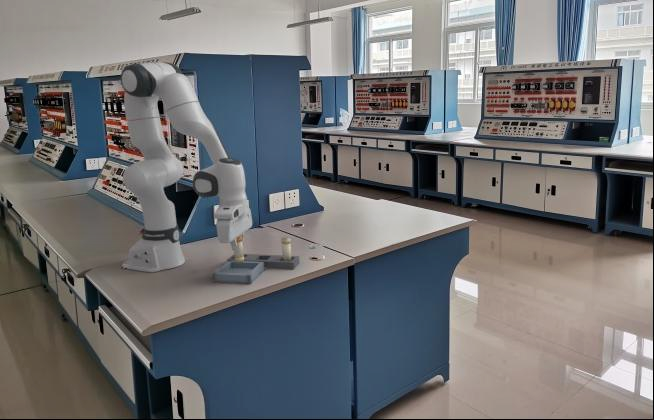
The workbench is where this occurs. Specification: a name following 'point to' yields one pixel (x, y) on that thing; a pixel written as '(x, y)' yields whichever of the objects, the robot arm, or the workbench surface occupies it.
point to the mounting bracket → (315, 246)
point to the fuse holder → (271, 260)
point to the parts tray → (239, 272)
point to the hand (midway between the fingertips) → (238, 248)
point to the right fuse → (286, 248)
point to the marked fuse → (239, 251)
